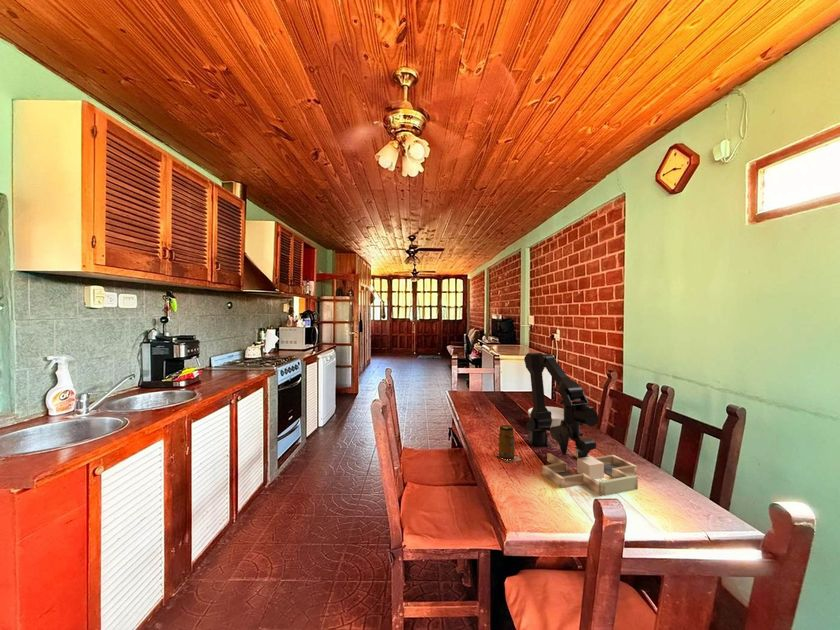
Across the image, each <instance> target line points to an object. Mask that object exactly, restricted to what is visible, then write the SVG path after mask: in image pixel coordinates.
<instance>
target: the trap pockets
mask: <svg viewBox="0 0 840 630" xmlns="http://www.w3.org/2000/svg"><path fill="white" fill-rule="evenodd" d="M594 457H595V456H594ZM595 458H597V460H599V461H601V462H603V463H604V474H606V475H607V476H610V477H611V478H613V477H612V468H614V469H615V468H616V470H617V469H618V470H620V471H622V472H624V473H626V474H628V475H630V476H632V475H635V476H638V465H636V464H633V462H629V461H627V460H626V459H623V458H621V457H619V456H617V455H615V454H609V455H603V456H596V457H595ZM564 462H565V461H564ZM564 462H563V463H557V464H551V463H549V464H545V465H541V475H542V476H544V477H545V478H547V479H548V480H549V481H551V482H552V483H553V484H555V485H557V487H560V488H561V489H564V488H569V487H574V486H575V487H576V486H580V485H584V484H583V475H584V474H579V473H576V474H573V473H572V472H570V471H569V470H567V471H565V464H566V463H567V462H566V463H564Z"/></svg>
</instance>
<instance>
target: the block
mask: <svg viewBox="0 0 840 630" xmlns="http://www.w3.org/2000/svg"><path fill="white" fill-rule="evenodd" d="M591 456H592V455H591ZM591 456H590V457H584V458H577V457H576V466H577V467H576V468H577V469H576V473H577V474H582V473H584V474H586V475H588V476H589V477H591V478H593V479H594V480H597V479H603V478H604V477H605V476H604V475H605V473H604V463H603V462H601V461H599V460H597V459H595V458H593V457H594V456H593V457H591Z"/></svg>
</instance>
